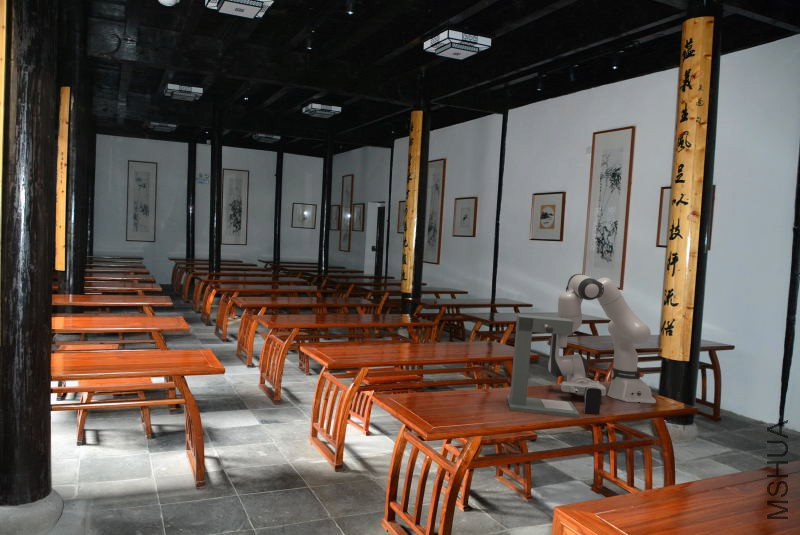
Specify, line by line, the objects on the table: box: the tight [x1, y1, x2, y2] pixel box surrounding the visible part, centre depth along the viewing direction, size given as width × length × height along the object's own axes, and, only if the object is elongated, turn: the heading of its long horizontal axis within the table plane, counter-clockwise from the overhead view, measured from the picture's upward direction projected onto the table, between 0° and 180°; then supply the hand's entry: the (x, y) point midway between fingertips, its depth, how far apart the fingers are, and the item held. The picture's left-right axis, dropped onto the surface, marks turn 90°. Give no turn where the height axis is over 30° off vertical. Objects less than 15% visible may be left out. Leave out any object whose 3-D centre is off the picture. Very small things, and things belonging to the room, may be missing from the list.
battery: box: [583, 387, 602, 415], centre depth 259 cm, size 7×4×11 cm, turn 91°
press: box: [506, 313, 580, 418], centre depth 257 cm, size 29×28×40 cm
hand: (586, 392), depth 270 cm, fingers open, 8 cm apart
